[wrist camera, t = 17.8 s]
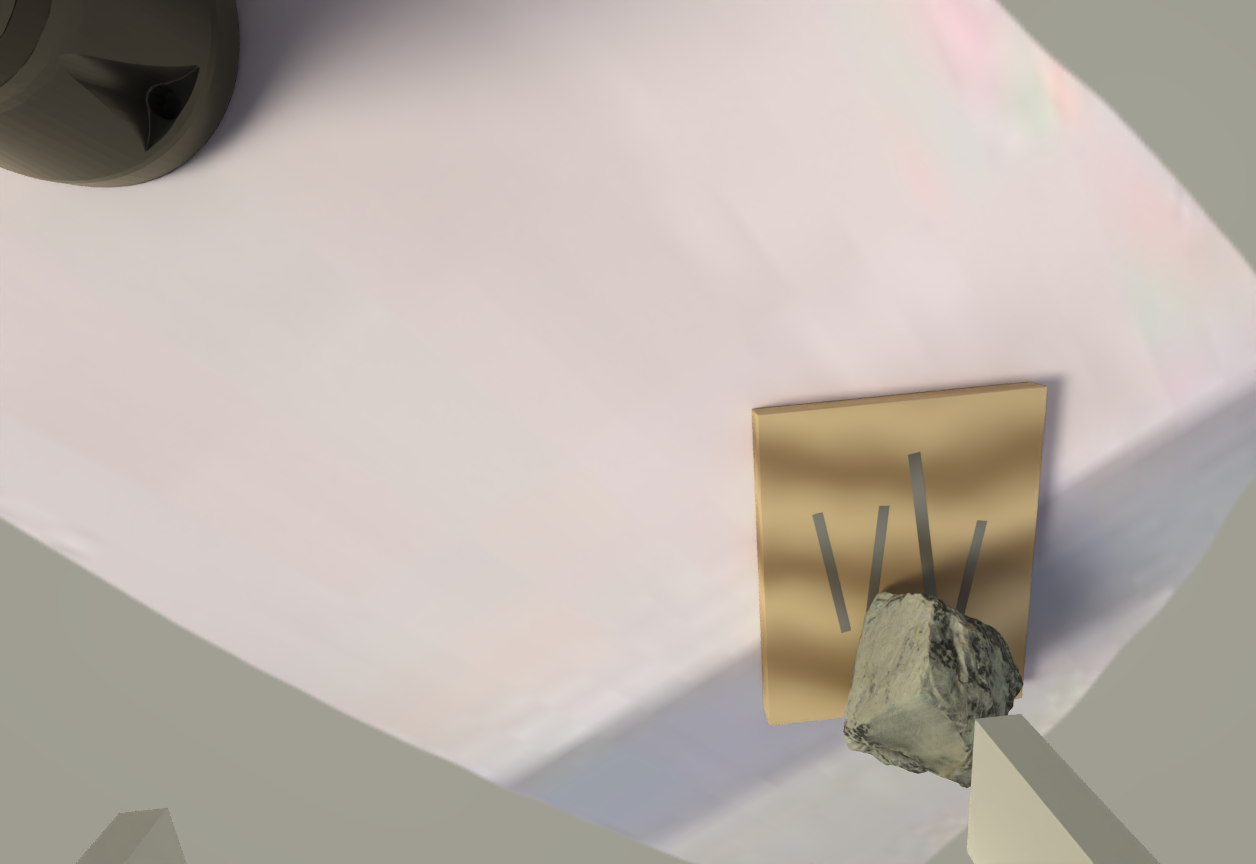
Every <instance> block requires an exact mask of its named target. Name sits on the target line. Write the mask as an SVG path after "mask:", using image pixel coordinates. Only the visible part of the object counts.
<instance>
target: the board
mask: <svg viewBox="0 0 1256 864" xmlns="http://www.w3.org/2000/svg"><path fill="white" fill-rule="evenodd" d="M1046 397H1047V387H1046V386H1042V385H1039V384H1035V383H1032V382H1023V383H1013V384H1003V385H993V386H982V387H972V388H962V389H952V390H942V391H932V392H921V393H911V394H901V395H891V396H881V397H871V398H860V399H850V400H840V401H830V402H820V403H810V404H799V405H789V406H779V407H769V408H759V409H752V426H753V451H754V476H755V501H756V526H757V551H758V576H759V601H760V626H761V651H762V676H763V701H764V711H765V714H766V717H767V719H768V722H769V725H770V726H771V725H780V724H789V723H799V722H808V721H817V720H826V719H835V718H844V709H845V706H846V703H847V701H848V695H849V692H850V689H851V680H852V674H853V668H854V663H855V659H856V653H857V647H858V642H859V638H860V635H861V631H862V627H863V622H864V617H865V615H866V613H867V611H868V610H869V608H870V606H871V604H872V602H873V600H874V598H875V597H876V595H877V594H878V593H883V592H889V593H892V594H897V595H900V594H904V595H905V594H907V593H915V594H921V593H924V594H928V595H932V596H934V597H936V598H937V599H940V600H942V601H943V602H945V604H947V605H949V606H950V607H953V608H956V609H957V611H958V612H960V613H962V614H964V615H966V616H969V617H971V618H975V619H978V620H980V621H981V622H983V623H984V624H987V625H990V626H992V627H993V628H995V629H996V630H997V631H998V632H999V633H1000V634H1001V636H1002V637H1003V638H1004V640H1005V642H1006V643H1007V645H1008V647H1009V650H1010V653H1011V655H1012V656H1013V661H1014V663H1015V665H1016V666H1017V668H1018V669H1019V673H1020V675H1021V677H1022V681H1023V675H1024V663H1025V651H1026V639H1027V627H1028V615H1029V602H1030V590H1031V578H1032V566H1033V554H1034V542H1035V530H1036V518H1037V506H1038V494H1039V482H1040V470H1041V458H1042V445H1043V433H1044V421H1045V409H1046ZM1022 687H1023V686H1022ZM1018 698H1022V689H1021V691H1020V692H1019V694H1018V695H1017V696H1016V698H1015V699H1018Z"/></svg>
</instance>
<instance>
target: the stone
mask: <svg viewBox="0 0 1256 864" xmlns="http://www.w3.org/2000/svg"><path fill="white" fill-rule="evenodd" d="M1022 686H1023V681H1022V677H1021V675H1020V673H1019V669H1018V668H1017V666H1016V665H1015V663H1014V661H1013V656H1012V655H1011V653H1010V650H1009V647H1008V645H1007V643H1006V642H1005V640H1004V638H1003V637H1002V636H1001V634H1000V633H999V632H998V631H997V630H996V629H995V628H993V627H992V626H990V625H987V624H984V623H983V622H981V621H980V620H978V619H975V618H971V617H969V616H966V615H964V614H962V613H960V612H958V611H957V609H956V608H953V607H950V606H949V605H947V604H945V602H943V601H942V600H940V599H937V598H936V597H934V596H932V595H928V594H924V593H921V594H915V593H907V594H905V595H904V594H900V595H897V594H892V593H889V592H883V593H878V594H877V595H876V597H875V598H874V600H873V602H872V604H871V606H870V608H869V610H868V611H867V613H866V615H865V617H864V622H863V627H862V631H861V635H860V638H859V642H858V647H857V653H856V659H855V663H854V668H853V674H852V680H851V689H850V692H849V695H848V701H847V703H846V706H845V709H844V717H845V725H844V731H843V732H844V735H846V740H847V746H848V747H849V749H851V750H854V751H860V752H863V753H868V754H871V755H873V756H874V757H875V758H877V759H878V760H879V761H880V762H882V763H883V764H885V765H892V764H893V765H895V766H899V767H901V768H903V769H906V770H908V771H910V772H914V773H918V774H919V773H924V772H927V771H930V772H932V773H934V774H936V775H938V776H940V777H943V778H947V779H949V780H952V781H954V782H957V783H959V784H960V786H962V787H966V788H968V787H970V786H971V778H972V761H973V745H974V729H975V719H980V718H989V717H998V716H1007V715H1008V712H1009V711H1010V710H1011V709H1012V707H1013V702H1014V699H1015V698H1016V696H1017V695H1018V694H1019V692H1020V691H1021V689H1022Z"/></svg>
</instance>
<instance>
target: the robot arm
mask: <svg viewBox="0 0 1256 864" xmlns="http://www.w3.org/2000/svg"><path fill="white" fill-rule="evenodd" d="M238 60H239V26H238V18H237V11H236V6H235V0H0V167H1V168H4V169H6V170H9V171H12V172H15V173H19V174H22V175H25V176H28V177H32V178H36V179H40V180H46V181H51V182H58V183H65V184H72V185H79V186H88V187H121V186H129V185H134V184H139V183H143V182H146V181H149V180H152V179H155V178H157V177H160V176H162V175H164V174H166V173H168V172H170V171H172V170H174V169H175V168H177V167H178V166H180V165H181V164H183V163H184V162H185V161H187V160H188V159H189V158H191V157H192V156H193V155H194V154H195V153H196V152H197V151H198V150H199V149H200V148H201V147H202V146H203V145H204V144H205V143H206V142H207V140H208V139H209V138H210V136H211V135H212V134H213V132H214V131H215V129H216V128H217V126H218V124H219V123H220V121H221V119H222V117H223V115H224V113H225V111H226V108H227V106H228V104H229V101H230V98H231V95H232V92H233V88H234V84H235V80H236V75H237V69H238ZM967 853H968V854H969V856H970V857H971V859H972V861H973V862H974V864H1160V863H1159V862H1158V861H1157V860H1156V859H1155V858H1154V857H1153V856H1152V854H1150V853H1149V851H1148V850H1147V849H1146V848H1145V847H1144V846H1143V845H1142V844H1141V843H1140V842H1139V841H1138V839H1137V838H1136V837H1135V836H1134V835H1133V834H1132V833H1131V832H1130V831H1129V830H1128V829H1127V828H1126V827H1125V826H1124V824H1123V823H1122V822H1121V821H1120V820H1119V819H1118V818H1117V817H1116V816H1115V815H1114V814H1113V813H1112V812H1111V810H1110V809H1108V807H1107V806H1106V805H1105V804H1104V803H1103V802H1102V801H1101V800H1100V799H1099V798H1098V796H1097V795H1096V794H1095V793H1094V792H1093V791H1092V790H1091V789H1090V788H1089V787H1088V786H1087V785H1086V783H1084V781H1083V780H1082V779H1081V778H1080V777H1079V776H1078V775H1077V774H1076V773H1075V772H1074V771H1073V770H1072V768H1071V767H1070V766H1069V765H1068V764H1067V763H1066V762H1065V761H1064V760H1063V759H1062V758H1061V757H1060V756H1059V754H1058V753H1057V752H1056V751H1055V750H1054V749H1053V748H1052V747H1051V746H1050V745H1049V744H1048V743H1047V742H1046V740H1045V739H1044V738H1043V737H1042V736H1041V735H1040V734H1039V733H1038V732H1037V731H1036V730H1035V729H1034V728H1033V726H1032V725H1031V724H1030V723H1029V722H1028V721H1027V720H1026V719H1025V718H1024V717H1023V716H1022V715H1021V714H1016V715H1007V716H998V717H989V718H980V719H975V729H974V745H973V761H972V778H971V794H970V810H969V827H968V843H967ZM76 864H187V863H186V861H185V858H184V855H183V852H182V849H181V846H180V843H179V840H178V837H177V834H176V831H175V828H174V825H173V822H172V819H171V816H170V814H169V811H168V808H162V809H154V810H144V811H135V812H126V813H119V814H118V815H117V816H116V818H115V819H114V820H113V821H112V822H111V823H110V824H109V826H108V827H107V828H106V829H105V830H104V831H103V832H102V834H101V835H100V836H99V837H98V838H97V839H96V841H95V842H94V843H93V844H92V845H91V847H90V848H89V849H88V850H87V851H86V852H85V854H84V855H83V856H82V857H81V858H80V859H79V860H78V862H77V863H76Z"/></svg>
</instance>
